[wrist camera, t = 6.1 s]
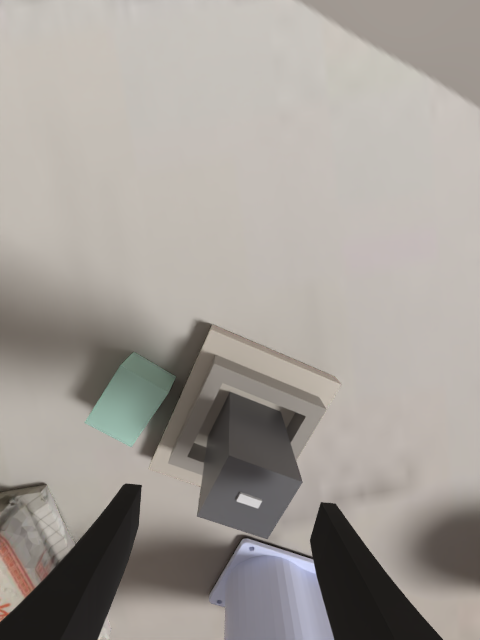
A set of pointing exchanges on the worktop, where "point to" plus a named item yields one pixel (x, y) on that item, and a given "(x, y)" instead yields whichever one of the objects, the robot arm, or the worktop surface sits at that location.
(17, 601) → the packaged product
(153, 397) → the cable plug
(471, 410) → the worktop surface
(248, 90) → the worktop surface
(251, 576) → the robot arm
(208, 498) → the block
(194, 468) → the plate
